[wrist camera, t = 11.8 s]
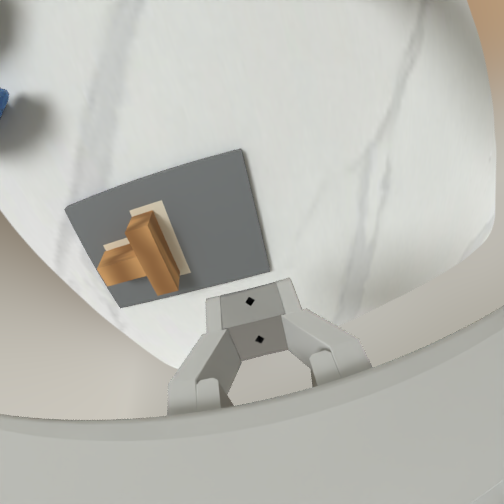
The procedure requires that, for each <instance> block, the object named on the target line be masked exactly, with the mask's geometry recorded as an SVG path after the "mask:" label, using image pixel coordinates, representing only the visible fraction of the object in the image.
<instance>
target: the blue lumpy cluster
mask: <svg viewBox="0 0 504 504" xmlns="http://www.w3.org/2000/svg"><path fill="white" fill-rule="evenodd" d="M8 98H9V93H8V91H7V90H5V89H1V88H0V118H1V116H2V113H3V110H4V109H5V107H6V104H7V102H8Z"/></svg>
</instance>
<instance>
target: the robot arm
mask: <svg viewBox="0 0 504 504" xmlns="http://www.w3.org/2000/svg"><path fill="white" fill-rule="evenodd" d="M205 303H206V332H207V333H206V334H202V336H201V337H200V339H199V340H198V342H197V343H196V345H195V346H194V347H193V349H192V350H191V352H190V353H189V355H188V356H187V358H186V359H185V361H184V362H183V363H182V365H181V366H180V368H179V369H178V371H177V372H176V374H175V375H174V377H173V378H172V379H171V381H170V383H169V384H168V410H167V411H168V412H167V416H160V417H149V418H136V419H116V420H59V419H41V418H28V417H19V416H10V415H3V414H0V504H504V306H502V307H500V308H499V309H497V310H495V311H493V312H492V313H490V314H488V315H486V316H485V317H483V318H481V319H479V320H478V321H476V322H474V323H472V324H470V325H468V326H467V327H464V328H463V329H460V330H458V331H456V332H455V333H453V334H450V335H448V336H446V337H444V338H442V339H440V340H438V341H436V342H434V343H432V344H430V345H427V346H425V347H423V348H420V349H418V350H416V351H414V352H411V353H409V354H406V355H404V356H402V357H399V358H397V359H394V360H392V361H389V362H387V363H384V364H381V365H379V366H376V367H372V365H371V363H370V361H369V359H368V357H367V355H366V352H365V350H364V348H363V346H362V344H361V342H360V340H359V339H358V338H357V337H355V336H353V335H352V334H349V333H348V332H346V331H345V330H342V329H341V328H339V327H338V326H336V325H334V324H332V323H331V322H329V321H327V320H325V319H324V318H322V317H320V316H319V315H317V314H315V313H313V312H312V311H310V310H308V309H307V308H306V309H303V310H302V307H301V305H300V302H299V299H298V297H297V294H296V291H295V289H294V286H293V284H292V281H291V279H290V278H286V279H283V280H279V281H276V282H273V283H270V284H266V285H262V286H258V287H254V288H251V289H247V290H242V291H238V292H233V293H229V294H224V295H220V296H217V297H212V298H208V299H206V302H205ZM285 350H289V351H290V352H291V353H292V354H293V355H295V356H296V357H297V358H298V359H299V360H301V361H302V362H303V363H304V364H305V365H307V366H308V367H309V368H310V369H311V377H312V388H309V389H305V390H302V391H298V392H294V393H290V394H286V395H283V396H278V397H275V398H270V399H266V400H261V401H256V402H252V403H247V404H242V405H237V406H234V405H233V404H232V402H231V400H230V399H229V398H228V396H227V394H228V392H229V390H230V388H231V385H232V383H233V381H234V379H235V377H236V374H237V372H238V370H239V368H240V365H241V363H242V362H241V361H244V360H248V359H252V358H256V357H259V356H263V355H267V354H272V353H276V352H281V351H285Z"/></svg>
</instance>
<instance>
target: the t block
mask: <svg viewBox="0 0 504 504" xmlns="http://www.w3.org/2000/svg"><path fill="white" fill-rule="evenodd" d="M125 235H126V237H127V239H128V241H129V243H130V244H127V245H124V246H120V247H117V248H114V249H111V250H108V251H105V252H104V254H103V256H102V258H101V261H100V263H99V265H98V267H97V270H98V272H99V274H100V275H101V277H102V279H103V280H104V282H105V283H106V285H107V287H108V286H111V285H115V284H119V283H122V282H126V281H130V280H133V279H137V278H141V277H144V276H147V277H148V279H149V281H150V283H151V285H152V287H153V288H154V290H155V292H156V294H157V296H159V295H163V294H167V293H171V292H175V291H178V290H179V278H180V271H179V269H178V266H177V264H176V262H175V260H174V258H173V256H172V253H171V251H170V249H169V247H168V244H167V242H166V240H165V238H164V235H163V233H162V231H161V228H160V226H159V224H158V221H157V219H156V217H155V214H154V212H153V210H151V211H148V212H145V213H142V214H139V215H136V216H133V217H131V220H130V222H129V224H128V226H127V229H126V231H125Z"/></svg>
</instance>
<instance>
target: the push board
mask: <svg viewBox="0 0 504 504" xmlns="http://www.w3.org/2000/svg"><path fill="white" fill-rule="evenodd" d="M151 210H153V212H154V214H155V217H156V219H157V221H158V224H159V226H160V228H161V231H162V233H163V235H164V238H165V240H166V242H167V244H168V247H169V249H170V251H171V253H172V256H173V258H174V260H175V262H176V264H177V266H178V269H179V271H180V278H179V290H178V291H175V292H171V293H167V294H163V295H159V296H157V294H156V292H155V290H154V288H153V287H152V285H151V283H150V281H149V279H148V277H147V276H144V277H141V278H137V279H133V280H130V281H126V282H122V283H119V284H115V285H111V286H108V287H107V288H108V289H109V291H110V293H111V294H112V296H113V297H114V299H115V301H116V302H117V304H118V305H119V307H120V308H123V307H128V306H132V305H136V304H141V303H145V302H149V301H153V300H158V299H162V298H166V297H170V296H174V295H179V294H183V293H187V292H191V291H195V290H199V289H203V288H207V287H211V286H215V285H219V284H223V283H227V282H231V281H235V280H239V279H243V278H247V277H251V276H255V275H258V274H262V273H266V272H270V269H269V264H268V260H267V256H266V251H265V247H264V243H263V238H262V234H261V230H260V226H259V221H258V217H257V213H256V209H255V204H254V200H253V196H252V192H251V188H250V183H249V179H248V175H247V171H246V167H245V163H244V159H243V155H242V151H241V149H237V150H233V151H230V152H226V153H222V154H218V155H214V156H211V157H207V158H204V159H200V160H197V161H193V162H190V163H186V164H183V165H180V166H177V167H173V168H170V169H167V170H164V171H161V172H158V173H155V174H152V175H149V176H146V177H143V178H140V179H137V180H134V181H131V182H128V183H125V184H123V185H120V186H117V187H115V188H112V189H109V190H107V191H104V192H101V193H99V194H96V195H94V196H91V197H89V198H86V199H84V200H81V201H79V202H76V203H74V204H71V205H69V206H67V207H66V208H65V212H66V214H67V216H68V218H69V220H70V222H71V224H72V226H73V228H74V230H75V231H76V233H77V235H78V237H79V239H80V241H81V243H82V245H83V247H84V248H85V250H86V252H87V254H88V256H89V257H90V259H91V261H92V263H93V264H94V266H95V268H96V270H97V267H98V265H99V263H100V261H101V258H102V256H103V254H104V252H105V251H108V250H111V249H114V248H117V247H120V246H124V245H127V244H130V243H129V241H128V239H127V237H126V235H125V231H126V229H127V226H128V224H129V222H130V220H131V217H133V216H136V215H139V214H142V213H145V212H148V211H151ZM97 271H98V270H97ZM98 273H99V272H98ZM99 275H100V274H99ZM100 276H101V275H100ZM101 278H102V277H101ZM102 280H103V279H102ZM103 281H104V280H103ZM104 283H105V282H104ZM105 285H106V283H105ZM106 286H107V285H106Z"/></svg>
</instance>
